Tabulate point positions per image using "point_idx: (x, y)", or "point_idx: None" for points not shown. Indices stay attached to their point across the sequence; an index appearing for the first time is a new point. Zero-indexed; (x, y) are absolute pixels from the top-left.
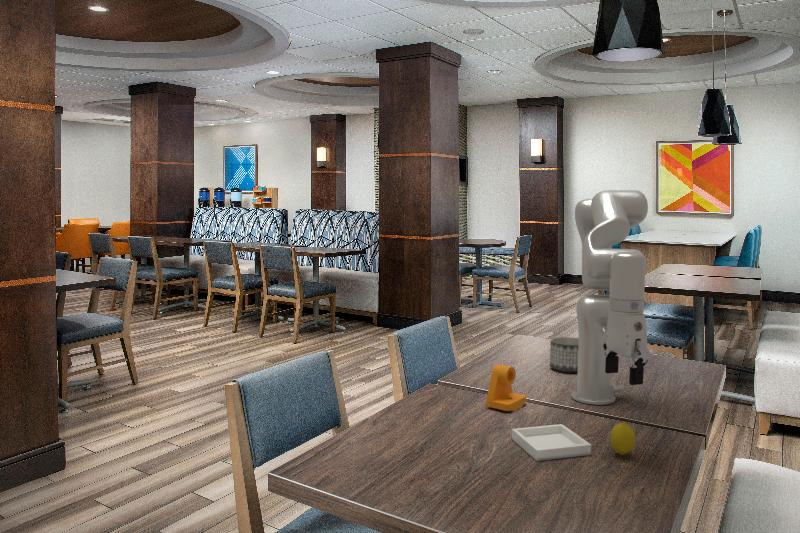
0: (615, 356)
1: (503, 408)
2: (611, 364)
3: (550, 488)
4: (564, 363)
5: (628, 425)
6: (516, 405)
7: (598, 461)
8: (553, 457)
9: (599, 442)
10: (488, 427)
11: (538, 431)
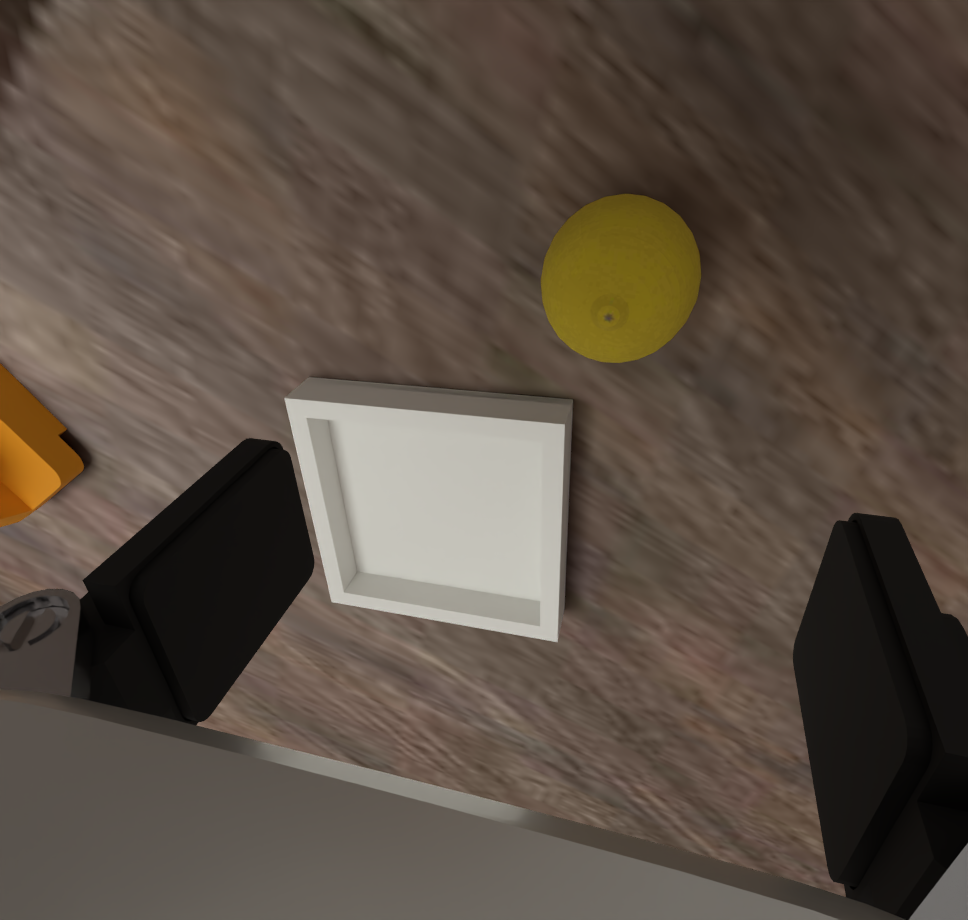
0: (136, 639)
1: (71, 479)
2: (243, 602)
3: (792, 690)
4: None
5: (627, 275)
6: (25, 415)
7: (652, 410)
8: (565, 560)
9: (437, 263)
10: None
11: (335, 504)
